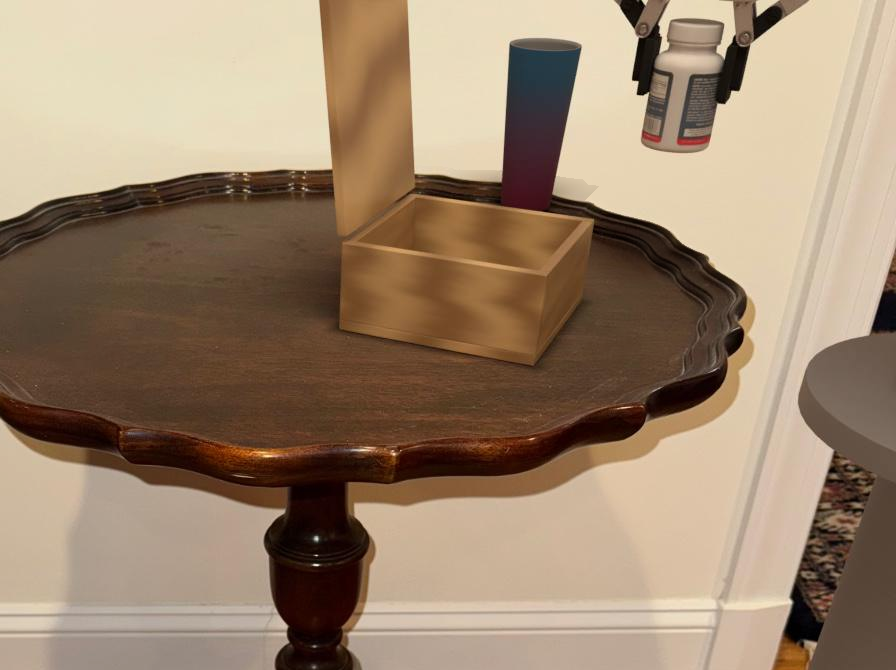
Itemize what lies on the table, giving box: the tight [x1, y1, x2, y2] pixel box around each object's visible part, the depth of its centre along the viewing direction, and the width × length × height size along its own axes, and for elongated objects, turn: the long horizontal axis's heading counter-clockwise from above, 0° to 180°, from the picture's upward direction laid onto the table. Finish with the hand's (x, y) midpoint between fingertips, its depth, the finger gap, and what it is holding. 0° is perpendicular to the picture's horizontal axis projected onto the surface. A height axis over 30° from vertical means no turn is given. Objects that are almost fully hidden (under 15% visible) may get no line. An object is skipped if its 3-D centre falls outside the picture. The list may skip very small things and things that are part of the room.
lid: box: [318, 0, 416, 237], centre depth 85 cm, size 16×15×1 cm
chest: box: [338, 193, 595, 367], centre depth 89 cm, size 16×15×7 cm
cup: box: [500, 37, 583, 212], centre depth 111 cm, size 7×7×15 cm
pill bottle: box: [640, 17, 725, 154], centre depth 87 cm, size 5×5×9 cm
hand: (683, 93), depth 87 cm, fingers closed on pill bottle, 5 cm apart
